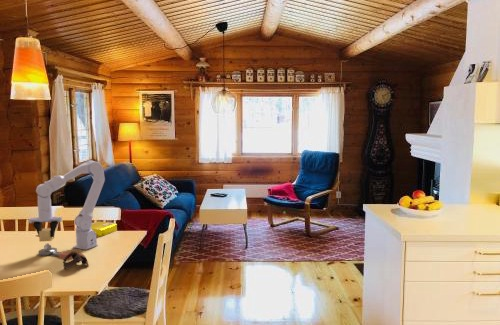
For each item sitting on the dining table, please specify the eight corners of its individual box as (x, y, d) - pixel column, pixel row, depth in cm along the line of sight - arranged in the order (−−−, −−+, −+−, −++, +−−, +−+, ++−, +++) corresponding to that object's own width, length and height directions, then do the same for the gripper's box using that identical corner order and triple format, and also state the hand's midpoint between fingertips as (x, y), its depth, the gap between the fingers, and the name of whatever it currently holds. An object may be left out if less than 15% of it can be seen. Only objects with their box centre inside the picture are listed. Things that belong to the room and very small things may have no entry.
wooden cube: (54, 237, 198) (53, 228, 197) (50, 241, 193) (49, 230, 192) (43, 238, 197) (42, 228, 197) (39, 241, 192) (38, 231, 192)
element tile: (98, 228, 241) (97, 220, 240) (118, 230, 235) (118, 222, 235) (79, 234, 227) (78, 226, 227) (100, 237, 222) (99, 229, 221)
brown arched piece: (91, 270, 175) (81, 256, 171) (70, 281, 173) (60, 268, 169) (89, 255, 185) (79, 242, 181) (69, 265, 183) (59, 253, 179)
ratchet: (80, 255, 192) (80, 246, 191) (66, 261, 185) (66, 251, 184) (49, 249, 201) (48, 240, 200) (34, 254, 194) (34, 245, 193)
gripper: (63, 206, 198) (65, 233, 199) (32, 207, 196) (34, 234, 198) (58, 210, 191) (60, 237, 192) (26, 211, 189) (28, 239, 191)
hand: (46, 236), depth 195 cm, fingers closed on wooden cube, 5 cm apart
